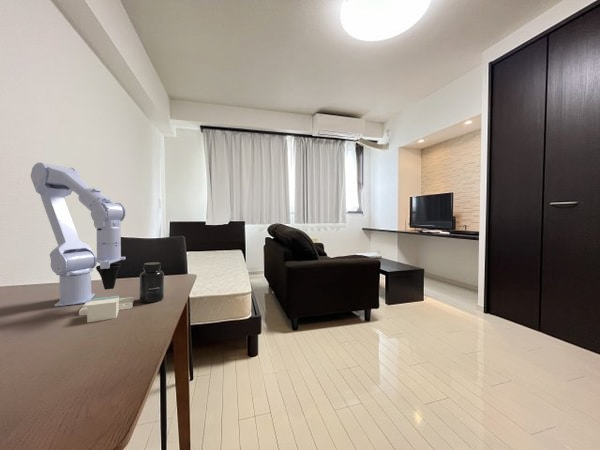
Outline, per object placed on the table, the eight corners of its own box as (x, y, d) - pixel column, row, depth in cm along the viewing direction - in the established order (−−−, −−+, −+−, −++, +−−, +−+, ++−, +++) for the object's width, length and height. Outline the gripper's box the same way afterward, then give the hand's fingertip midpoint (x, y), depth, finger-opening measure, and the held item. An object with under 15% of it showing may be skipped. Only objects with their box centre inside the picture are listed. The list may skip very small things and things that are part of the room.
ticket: (86, 306, 75) (86, 302, 75) (134, 300, 81) (134, 296, 81) (78, 315, 68) (78, 310, 68) (131, 308, 74) (131, 304, 74)
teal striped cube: (92, 315, 69) (91, 298, 69) (118, 311, 73) (118, 295, 72) (87, 323, 64) (87, 305, 64) (116, 318, 67) (116, 301, 67)
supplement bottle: (152, 304, 78) (152, 265, 78) (134, 302, 79) (133, 264, 79) (168, 297, 85) (168, 262, 84) (151, 296, 86) (151, 261, 86)
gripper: (122, 245, 71) (122, 293, 71) (127, 240, 83) (128, 281, 84) (90, 246, 67) (90, 296, 68) (100, 241, 80) (101, 284, 80)
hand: (109, 288), depth 75 cm, fingers closed
